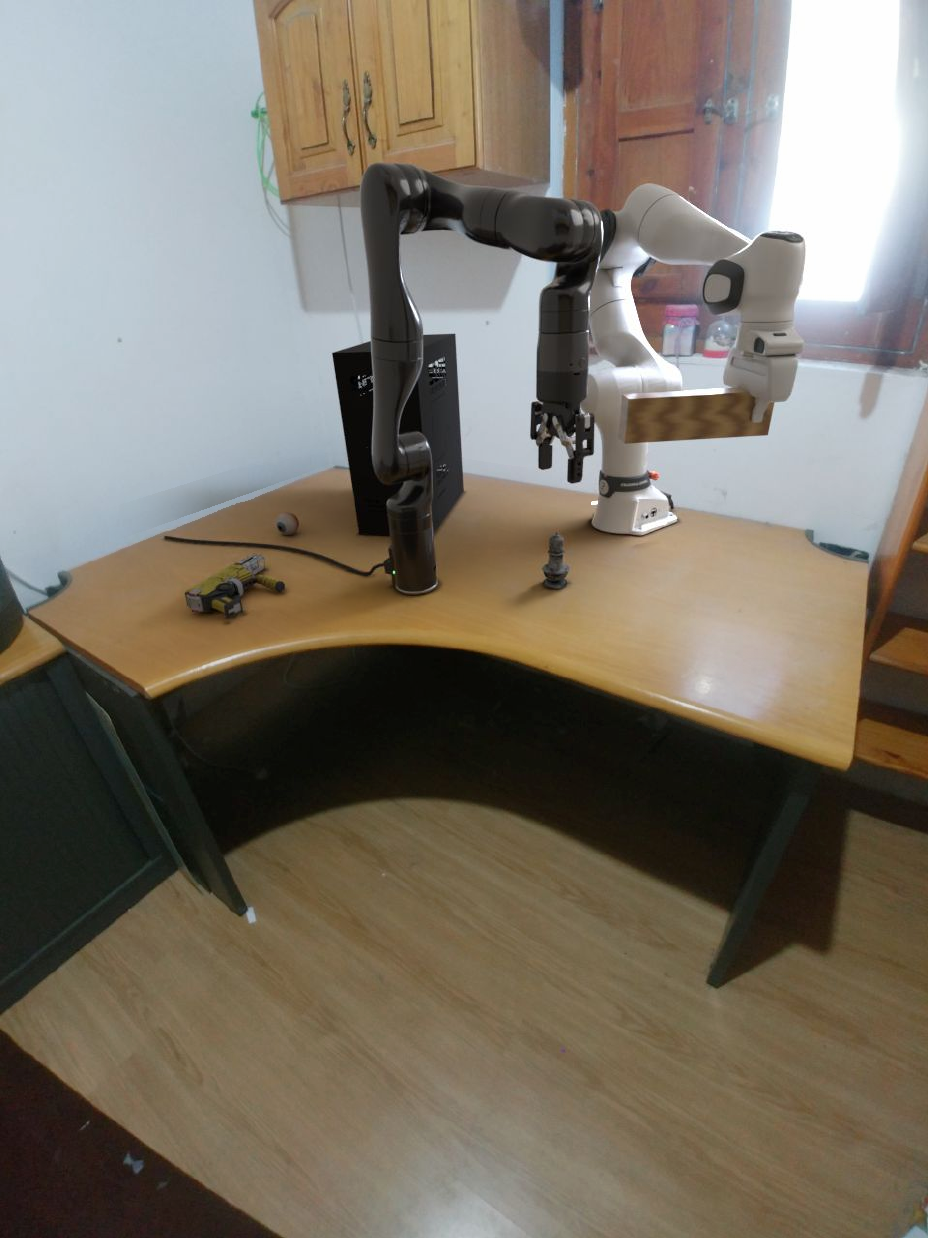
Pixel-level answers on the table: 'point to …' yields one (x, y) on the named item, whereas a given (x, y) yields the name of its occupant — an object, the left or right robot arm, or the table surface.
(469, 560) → the table surface
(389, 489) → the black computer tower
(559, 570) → the weathered chess pawn
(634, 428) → the bar
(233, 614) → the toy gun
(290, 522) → the eyeball
